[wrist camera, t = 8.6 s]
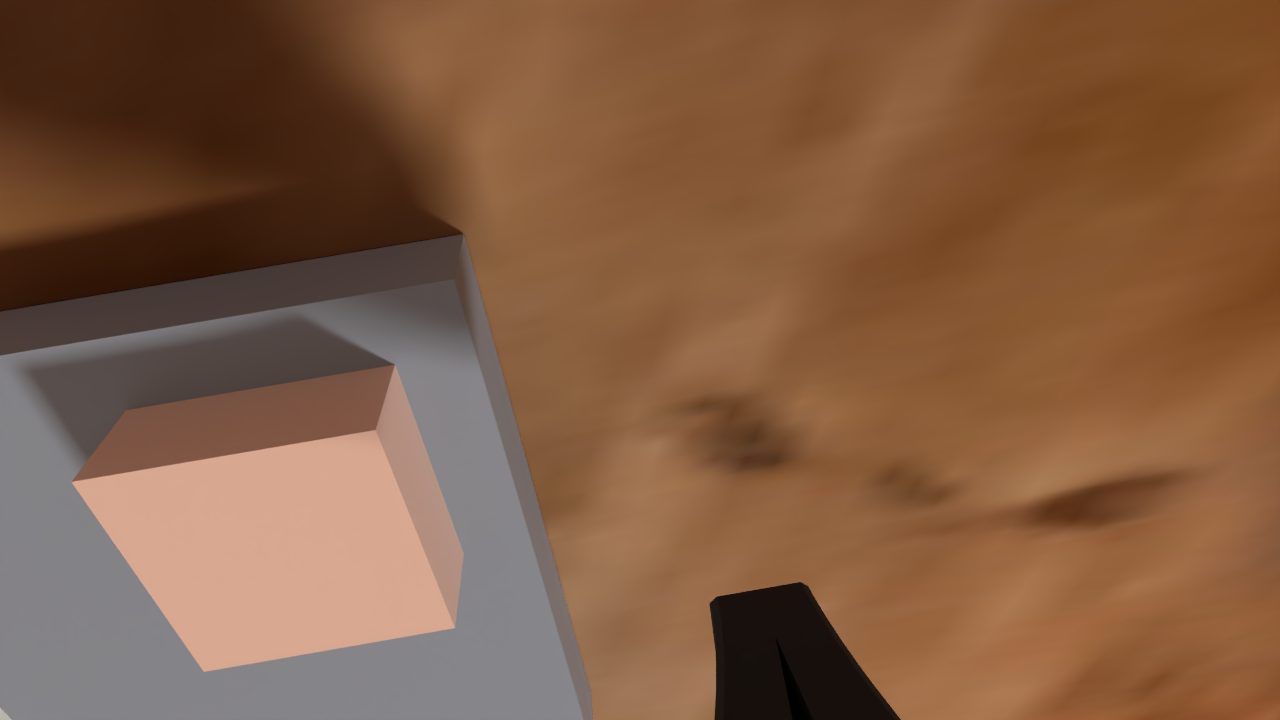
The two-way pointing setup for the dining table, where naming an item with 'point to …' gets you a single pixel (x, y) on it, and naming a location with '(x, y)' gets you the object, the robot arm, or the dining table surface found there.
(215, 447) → the terracotta tile
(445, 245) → the board
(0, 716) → the cream tile
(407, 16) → the dining table surface
